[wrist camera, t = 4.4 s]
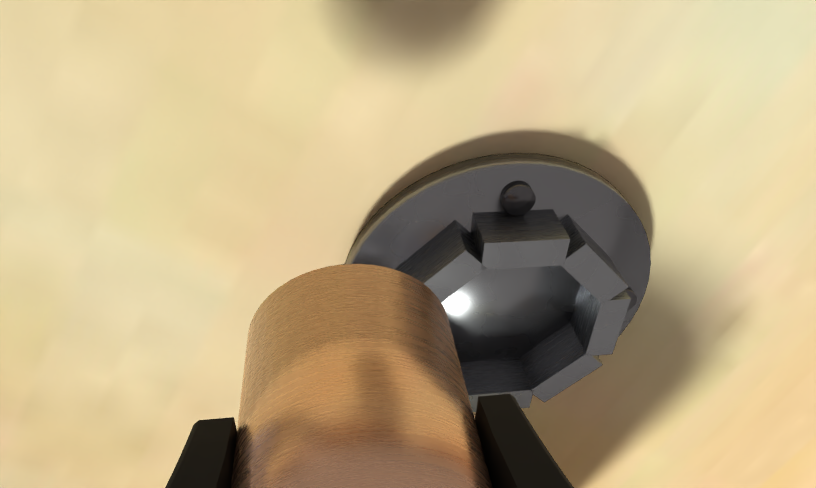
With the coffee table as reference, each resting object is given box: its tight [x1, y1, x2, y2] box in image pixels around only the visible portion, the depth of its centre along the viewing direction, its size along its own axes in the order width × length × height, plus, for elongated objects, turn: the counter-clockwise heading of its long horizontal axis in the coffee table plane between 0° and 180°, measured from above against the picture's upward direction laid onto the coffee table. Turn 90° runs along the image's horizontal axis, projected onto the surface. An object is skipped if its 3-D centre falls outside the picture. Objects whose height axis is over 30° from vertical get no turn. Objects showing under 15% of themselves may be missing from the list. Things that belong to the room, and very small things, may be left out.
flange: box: [345, 153, 651, 412], centre depth 21 cm, size 11×11×2 cm
